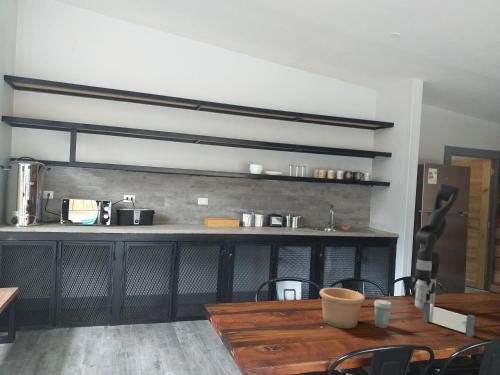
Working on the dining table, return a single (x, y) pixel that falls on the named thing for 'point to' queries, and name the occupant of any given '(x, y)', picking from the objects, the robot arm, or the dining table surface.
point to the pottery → (341, 307)
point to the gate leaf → (448, 318)
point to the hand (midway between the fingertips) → (421, 299)
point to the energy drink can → (420, 294)
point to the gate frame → (469, 321)
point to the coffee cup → (382, 313)
